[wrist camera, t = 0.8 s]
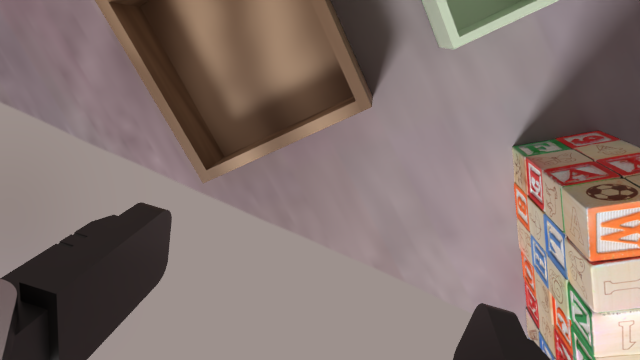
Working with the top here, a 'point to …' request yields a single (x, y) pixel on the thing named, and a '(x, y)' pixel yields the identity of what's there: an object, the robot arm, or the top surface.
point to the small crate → (474, 17)
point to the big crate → (240, 72)
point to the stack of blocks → (580, 245)
